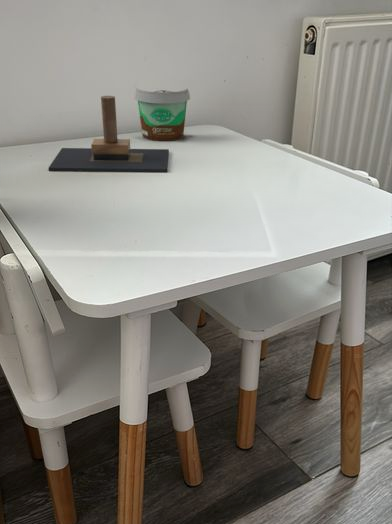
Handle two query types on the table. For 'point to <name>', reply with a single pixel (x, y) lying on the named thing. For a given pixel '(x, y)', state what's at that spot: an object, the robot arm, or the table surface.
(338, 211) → the table surface
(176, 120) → the food container
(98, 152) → the brush
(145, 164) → the mat
